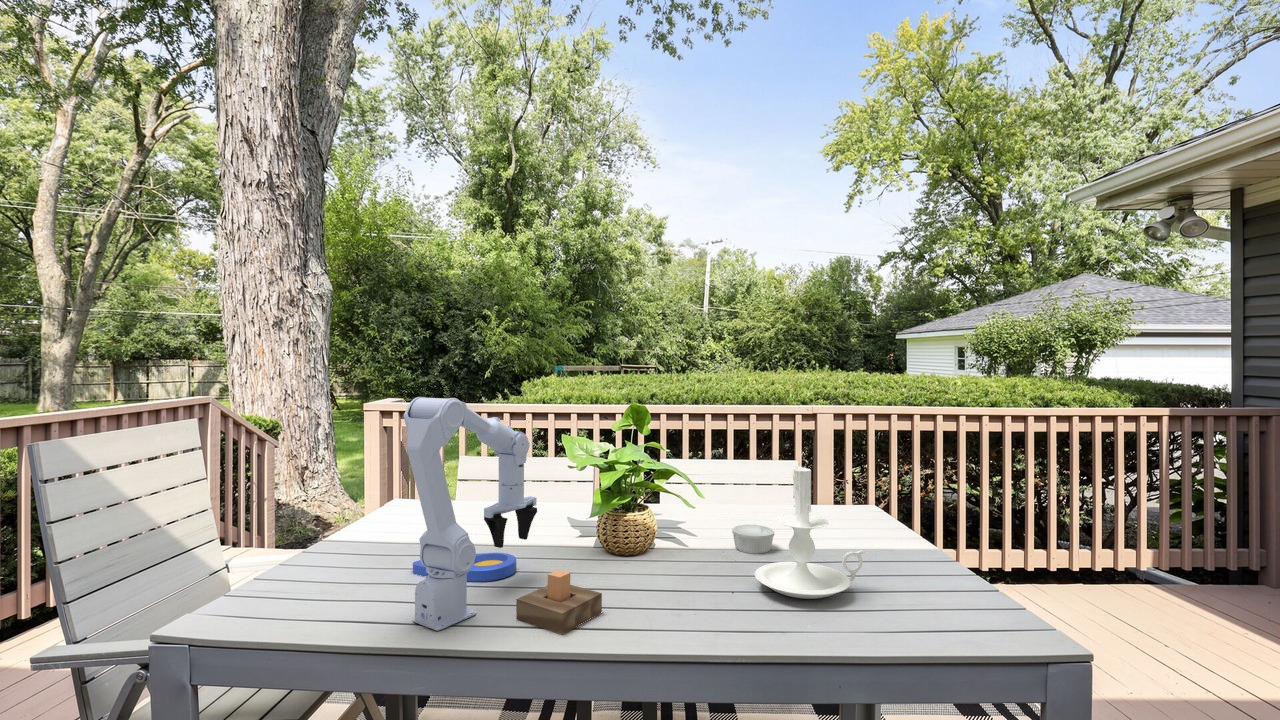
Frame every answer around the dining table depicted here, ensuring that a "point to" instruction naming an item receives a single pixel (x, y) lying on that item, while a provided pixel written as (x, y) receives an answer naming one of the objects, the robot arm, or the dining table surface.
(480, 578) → the location marker
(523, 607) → the socket block
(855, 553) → the candlestick
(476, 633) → the dining table surface
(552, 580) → the peg
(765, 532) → the ramekin
